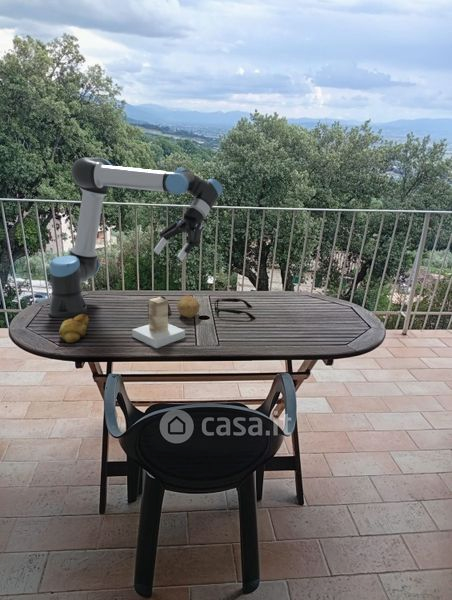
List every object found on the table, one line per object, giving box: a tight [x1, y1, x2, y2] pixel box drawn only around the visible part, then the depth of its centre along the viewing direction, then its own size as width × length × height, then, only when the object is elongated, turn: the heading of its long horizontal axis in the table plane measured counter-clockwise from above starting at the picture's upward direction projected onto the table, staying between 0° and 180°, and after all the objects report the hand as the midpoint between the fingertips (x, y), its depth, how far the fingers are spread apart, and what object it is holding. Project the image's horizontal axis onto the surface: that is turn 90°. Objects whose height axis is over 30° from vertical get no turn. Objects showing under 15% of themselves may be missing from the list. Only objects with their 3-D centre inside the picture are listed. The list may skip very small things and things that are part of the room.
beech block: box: [148, 296, 169, 333], centre depth 158 cm, size 5×5×12 cm
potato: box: [176, 295, 201, 319], centre depth 183 cm, size 10×14×8 cm
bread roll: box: [58, 313, 90, 343], centre depth 156 cm, size 13×10×8 cm
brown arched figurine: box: [146, 295, 172, 315], centre depth 187 cm, size 12×10×8 cm
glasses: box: [214, 298, 256, 320], centre depth 190 cm, size 17×18×5 cm
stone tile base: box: [131, 323, 186, 349], centre depth 161 cm, size 14×14×3 cm
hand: (167, 255), depth 161 cm, fingers open, 13 cm apart
